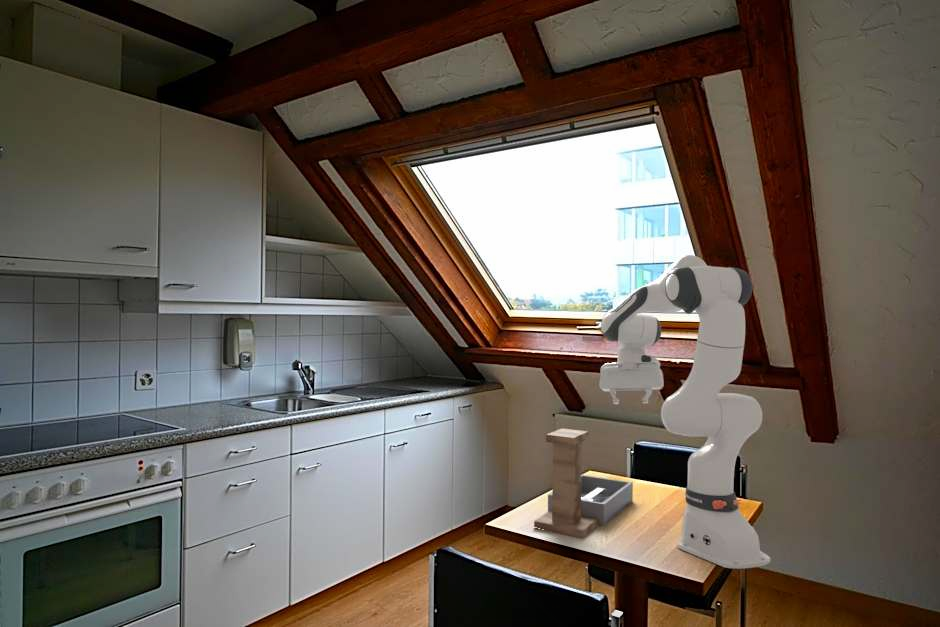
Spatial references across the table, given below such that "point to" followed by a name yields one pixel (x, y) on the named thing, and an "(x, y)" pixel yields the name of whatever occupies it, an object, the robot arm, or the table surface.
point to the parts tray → (611, 505)
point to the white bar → (595, 495)
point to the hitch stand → (567, 486)
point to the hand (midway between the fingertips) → (630, 403)
